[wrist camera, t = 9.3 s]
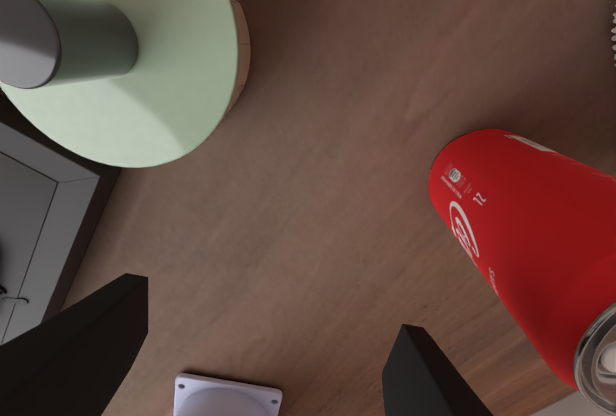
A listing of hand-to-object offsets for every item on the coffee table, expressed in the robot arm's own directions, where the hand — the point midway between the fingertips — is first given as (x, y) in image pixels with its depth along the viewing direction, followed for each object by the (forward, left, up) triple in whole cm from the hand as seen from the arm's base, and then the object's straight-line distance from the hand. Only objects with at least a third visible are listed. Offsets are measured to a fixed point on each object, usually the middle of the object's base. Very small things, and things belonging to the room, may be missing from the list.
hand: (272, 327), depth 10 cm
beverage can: (+3, -9, -11) cm, 14 cm away
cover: (+6, +8, -6) cm, 11 cm away
